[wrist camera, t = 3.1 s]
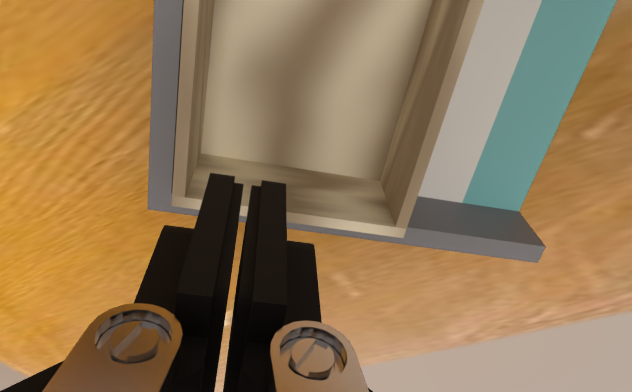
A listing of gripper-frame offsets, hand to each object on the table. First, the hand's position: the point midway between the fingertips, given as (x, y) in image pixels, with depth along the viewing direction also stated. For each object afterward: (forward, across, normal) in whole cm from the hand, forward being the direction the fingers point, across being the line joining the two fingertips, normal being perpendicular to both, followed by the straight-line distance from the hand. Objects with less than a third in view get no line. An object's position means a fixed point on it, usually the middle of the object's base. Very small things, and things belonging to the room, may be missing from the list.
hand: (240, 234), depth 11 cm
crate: (+18, -3, 0) cm, 18 cm away
